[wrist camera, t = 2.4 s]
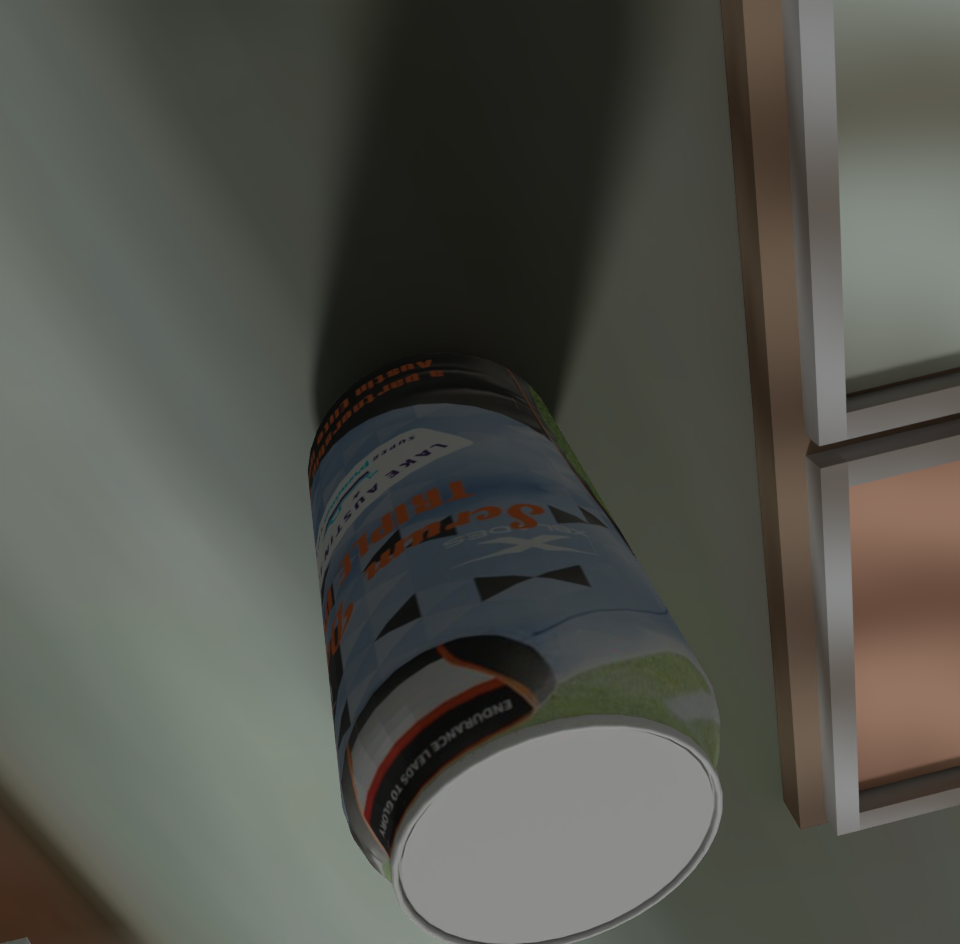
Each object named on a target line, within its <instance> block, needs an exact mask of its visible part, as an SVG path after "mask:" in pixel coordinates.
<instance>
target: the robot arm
mask: <svg viewBox="0 0 960 944" xmlns="http://www.w3.org/2000/svg"><path fill="white" fill-rule="evenodd" d="M2 944H31V943H30V941H29V940H28V938H27V937H26V938H22V939H18V940H14V941H10V942H6V943H2Z"/></svg>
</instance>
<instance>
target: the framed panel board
mask: <svg viewBox="0 0 960 944" xmlns="http://www.w3.org/2000/svg"><path fill="white" fill-rule="evenodd" d="M720 1H721V13H722V26H723V39H724V51H725V64H726V76H727V89H728V102H729V114H730V127H731V140H732V152H733V165H734V178H735V190H736V203H737V216H738V228H739V241H740V253H741V266H742V279H743V291H744V304H745V317H746V329H747V342H748V355H749V367H750V380H751V392H752V405H753V418H754V430H755V443H756V456H757V468H758V481H759V494H760V506H761V519H762V532H763V544H764V557H765V569H766V582H767V595H768V607H769V620H770V633H771V645H772V658H773V671H774V683H775V696H776V709H777V721H778V734H779V746H780V759H781V772H782V784H783V797H784V802H785V804H786V806H787V807H788V809H789V811H790V813H791V814H792V816H793V818H794V819H795V821H796V823H797V824H798V826H799V828H800V829H804V828H808V827H812V826H816V825H820V824H824V823H828V822H829V823H830V825H831V826H832V828H833V830H834V831H835V833H836V834H837V836H839V835H843V834H847V833H851V832H855V831H858V830H862V829H866V828H870V827H874V826H878V825H882V824H886V823H890V822H894V821H897V820H901V819H905V818H909V817H913V816H917V815H921V814H925V813H929V812H933V811H937V810H940V809H944V808H948V807H952V806H956V805H960V0H720Z"/></svg>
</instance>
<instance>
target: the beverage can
mask: <svg viewBox="0 0 960 944" xmlns="http://www.w3.org/2000/svg"><path fill="white" fill-rule="evenodd" d="M308 477H309V490H310V500H311V510H312V519H313V529H314V538H315V548H316V558H317V567H318V577H319V587H320V596H321V606H322V615H323V625H324V635H325V644H326V654H327V664H328V673H329V683H330V692H331V702H332V712H333V721H334V731H335V741H336V750H337V760H338V769H339V779H340V789H341V798H342V807H343V811H344V814H345V817H346V819H347V822H348V825H349V828H350V831H351V834H352V836H353V838H354V840H355V842H356V843H357V845H358V846H359V847H360V849H361V850H362V852H363V853H364V855H365V856H366V858H367V859H368V861H369V862H370V864H371V865H372V866H373V867H374V868H375V869H376V870H377V871H378V872H379V873H380V874H382V875H383V876H384V877H385V878H386V879H387V880H388V881H389V882H391V883H392V885H393V888H394V891H395V894H396V897H397V900H398V902H399V904H400V905H401V907H402V908H403V910H404V911H405V913H406V914H407V916H408V917H409V918H410V919H411V920H412V921H413V922H414V923H415V924H416V925H418V926H419V927H420V928H421V929H422V930H423V931H425V932H426V933H428V934H430V935H432V936H434V937H436V938H438V939H439V940H441V941H444V942H447V943H450V944H570V943H573V942H577V941H580V940H584V939H587V938H590V937H592V936H595V935H597V934H600V933H602V932H605V931H607V930H610V929H612V928H615V927H617V926H619V925H620V924H622V923H624V922H626V921H628V920H630V919H632V918H634V917H636V916H638V915H639V914H641V913H642V912H644V911H645V910H647V909H649V908H650V907H652V906H653V905H655V904H656V903H658V902H659V901H660V900H662V899H663V898H664V897H665V896H667V895H668V894H669V893H670V892H671V891H673V890H674V889H675V888H676V887H678V886H679V885H680V884H681V883H682V881H683V880H684V879H685V878H686V877H687V876H688V875H689V874H690V873H691V872H692V871H693V870H694V869H695V868H696V866H697V865H698V863H699V862H700V861H701V859H702V858H703V856H704V855H705V854H706V852H707V851H708V849H709V847H710V845H711V843H712V841H713V839H714V837H715V835H716V833H717V830H718V826H719V823H720V819H721V815H722V796H723V793H722V788H721V785H720V781H719V777H718V773H717V771H716V767H717V762H718V757H719V750H720V716H719V711H718V707H717V703H716V699H715V695H714V691H713V688H712V686H711V684H710V682H709V680H708V678H707V676H706V675H705V673H704V671H703V669H702V667H701V666H700V664H699V662H698V660H697V659H696V657H695V655H694V654H693V652H692V650H691V649H690V647H689V645H688V644H687V642H686V640H685V639H684V637H683V635H682V634H681V632H680V630H679V629H678V627H677V625H676V624H675V622H674V620H673V619H672V617H671V615H670V613H669V612H668V610H667V608H666V607H665V605H664V603H663V602H662V600H661V598H660V597H659V595H658V593H657V592H656V590H655V588H654V587H653V585H652V583H651V582H650V580H649V578H648V577H647V575H646V573H645V572H644V570H643V568H642V567H641V565H640V563H639V562H638V560H637V558H636V557H635V555H634V553H633V552H632V550H631V548H630V546H629V545H628V543H627V541H626V540H625V538H624V536H623V535H622V533H621V531H620V530H619V528H618V526H617V525H616V523H615V521H614V520H613V518H612V516H611V515H610V513H609V511H608V510H607V508H606V506H605V505H604V503H603V501H602V500H601V498H600V496H599V495H598V493H597V491H596V490H595V488H594V486H593V485H592V483H591V481H590V479H589V478H588V476H587V474H586V473H585V471H584V469H583V468H582V466H581V464H580V463H579V461H578V459H577V458H576V456H575V454H574V453H573V451H572V449H571V448H570V446H569V444H568V443H567V441H566V439H565V438H564V436H563V434H562V433H561V431H560V429H559V428H558V426H557V424H556V423H555V421H554V419H553V418H552V416H551V414H550V413H549V411H548V409H547V407H546V406H545V404H544V402H543V401H542V399H541V398H540V396H539V395H538V394H537V393H536V392H535V391H534V390H533V388H532V387H531V386H530V385H529V384H528V383H527V382H526V381H524V380H523V379H522V378H520V377H519V376H518V375H517V374H515V373H514V372H513V371H511V370H509V369H507V368H505V367H503V366H501V365H499V364H497V363H495V362H493V361H490V360H487V359H483V358H480V357H477V356H473V355H467V354H458V353H449V352H447V353H429V354H422V355H417V356H413V357H408V358H403V359H400V360H398V361H395V362H393V363H390V364H388V365H385V366H383V367H380V368H379V369H377V370H375V371H373V372H372V373H370V374H368V375H367V376H365V377H363V378H362V379H360V380H359V381H358V382H357V383H355V384H354V385H353V386H352V387H351V388H349V389H348V390H347V391H346V392H345V393H343V394H342V396H341V397H340V398H339V399H338V400H337V402H336V403H335V404H334V405H333V406H332V407H331V409H330V410H329V411H328V413H327V414H326V416H325V418H324V420H323V421H322V423H321V425H320V427H319V428H318V430H317V433H316V436H315V439H314V442H313V445H312V447H311V451H310V459H309V466H308Z"/></svg>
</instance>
